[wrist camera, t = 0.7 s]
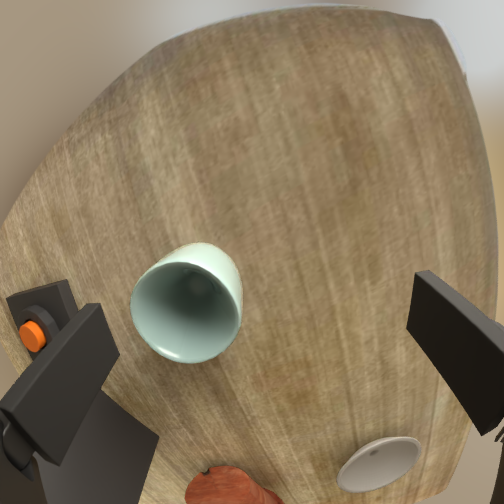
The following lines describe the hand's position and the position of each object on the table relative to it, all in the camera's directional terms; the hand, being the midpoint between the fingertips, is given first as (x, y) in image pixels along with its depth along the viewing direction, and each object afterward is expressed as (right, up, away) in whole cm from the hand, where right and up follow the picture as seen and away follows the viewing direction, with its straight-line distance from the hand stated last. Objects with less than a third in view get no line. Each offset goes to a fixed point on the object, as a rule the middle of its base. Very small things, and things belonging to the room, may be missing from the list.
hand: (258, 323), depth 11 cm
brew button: (-27, -7, +15) cm, 32 cm away
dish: (+20, -30, +24) cm, 43 cm away
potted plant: (+1, -44, +27) cm, 52 cm away
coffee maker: (-24, -24, +22) cm, 40 cm away
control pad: (-27, -7, +19) cm, 33 cm away
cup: (-5, +1, +17) cm, 18 cm away
